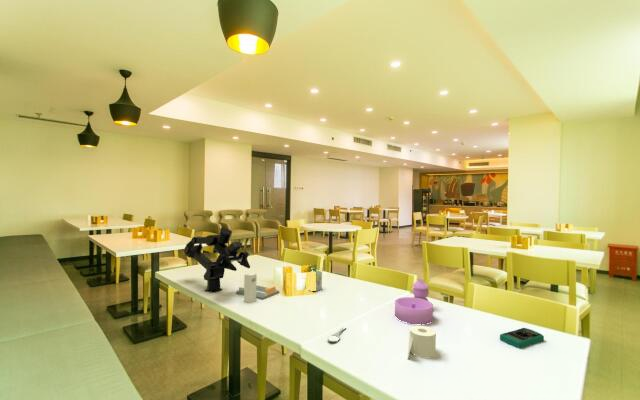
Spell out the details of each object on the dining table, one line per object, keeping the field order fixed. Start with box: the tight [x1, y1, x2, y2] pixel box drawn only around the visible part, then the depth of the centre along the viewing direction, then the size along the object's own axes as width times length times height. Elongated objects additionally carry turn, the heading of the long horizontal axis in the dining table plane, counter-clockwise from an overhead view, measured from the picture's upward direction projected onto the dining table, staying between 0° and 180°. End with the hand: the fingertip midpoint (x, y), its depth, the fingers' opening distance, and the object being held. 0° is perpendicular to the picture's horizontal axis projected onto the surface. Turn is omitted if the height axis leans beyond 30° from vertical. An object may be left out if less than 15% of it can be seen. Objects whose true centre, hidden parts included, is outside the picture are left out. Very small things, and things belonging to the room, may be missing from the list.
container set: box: [394, 278, 434, 326], centre depth 134 cm, size 25×15×13 cm, turn 151°
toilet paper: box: [406, 325, 437, 359], centre depth 100 cm, size 8×11×7 cm
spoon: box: [327, 327, 345, 343], centre depth 114 cm, size 4×21×2 cm, turn 155°
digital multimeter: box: [499, 327, 545, 350], centre depth 110 cm, size 7×15×3 cm, turn 116°
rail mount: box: [235, 284, 280, 301], centre depth 160 cm, size 18×13×4 cm
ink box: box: [308, 264, 323, 292], centre depth 166 cm, size 7×4×13 cm, turn 143°
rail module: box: [243, 272, 258, 304], centre depth 147 cm, size 4×4×13 cm
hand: (243, 268), depth 150 cm, fingers open, 9 cm apart
